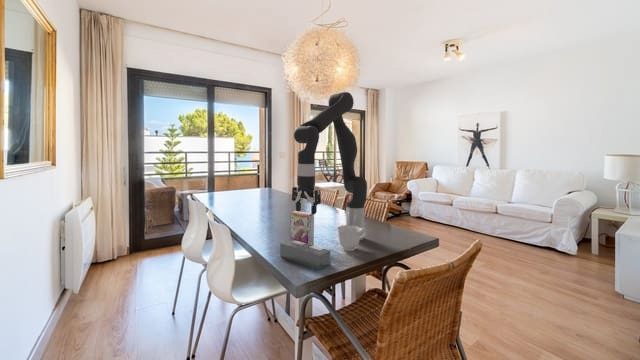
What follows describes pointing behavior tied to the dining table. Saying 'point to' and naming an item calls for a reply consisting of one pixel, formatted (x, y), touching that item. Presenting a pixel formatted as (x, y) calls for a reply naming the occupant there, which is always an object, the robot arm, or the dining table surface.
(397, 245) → the dining table surface
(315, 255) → the box
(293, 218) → the candy bar box
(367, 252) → the dining table surface
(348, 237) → the teacup
